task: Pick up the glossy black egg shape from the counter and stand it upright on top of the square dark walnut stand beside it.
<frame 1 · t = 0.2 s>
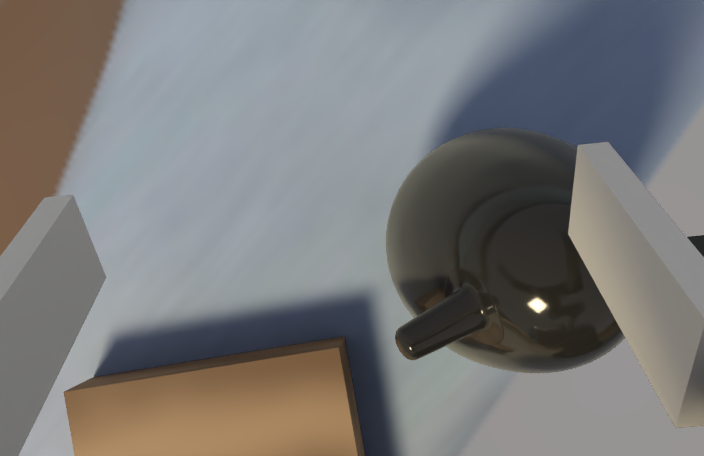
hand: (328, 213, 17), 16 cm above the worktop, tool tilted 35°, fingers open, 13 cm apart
glossy black egg shape: (481, 234, 33), on the worktop, touching gripper
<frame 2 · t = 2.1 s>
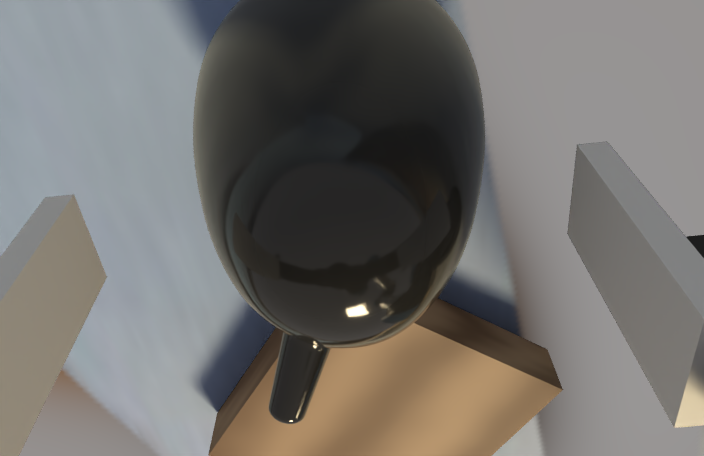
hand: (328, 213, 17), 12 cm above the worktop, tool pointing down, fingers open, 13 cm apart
glossy black egg shape: (337, 73, 27), on the worktop
walnut stand: (376, 382, 37), on the worktop
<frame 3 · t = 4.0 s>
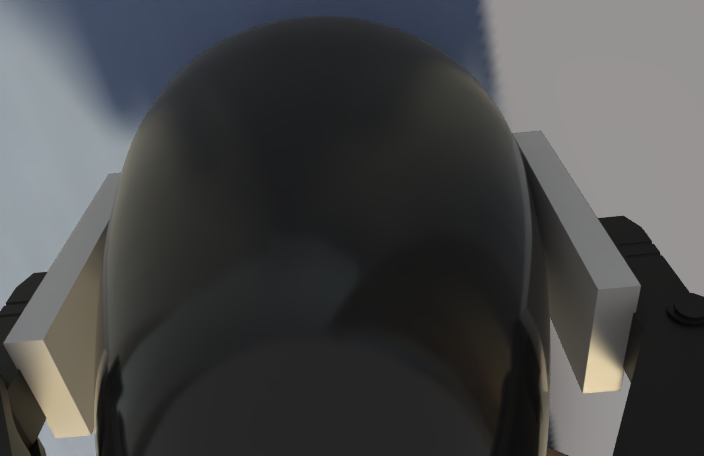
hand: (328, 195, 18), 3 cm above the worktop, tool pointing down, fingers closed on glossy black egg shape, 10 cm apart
glossy black egg shape: (326, 148, 20), on the worktop, touching gripper
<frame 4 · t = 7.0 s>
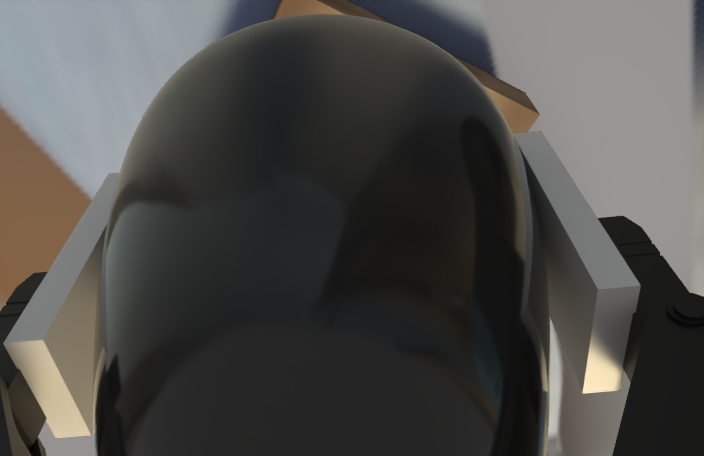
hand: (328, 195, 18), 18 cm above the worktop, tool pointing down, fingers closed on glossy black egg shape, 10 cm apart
glossy black egg shape: (326, 147, 20), point 15 cm above the worktop, touching gripper
walnut stand: (354, 144, 36), on the worktop
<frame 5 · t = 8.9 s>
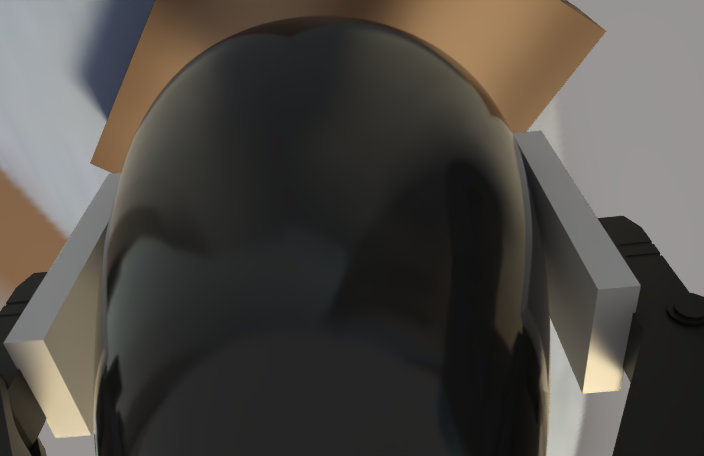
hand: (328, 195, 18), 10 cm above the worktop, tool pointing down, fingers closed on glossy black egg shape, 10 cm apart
glossy black egg shape: (326, 148, 20), point 7 cm above the worktop, touching gripper
walnut stand: (334, 72, 26), on the worktop
when the fingers open (7 cm above the worktop, at t = 10.4 s): glossy black egg shape drops 1 cm, resting on walnut stand.
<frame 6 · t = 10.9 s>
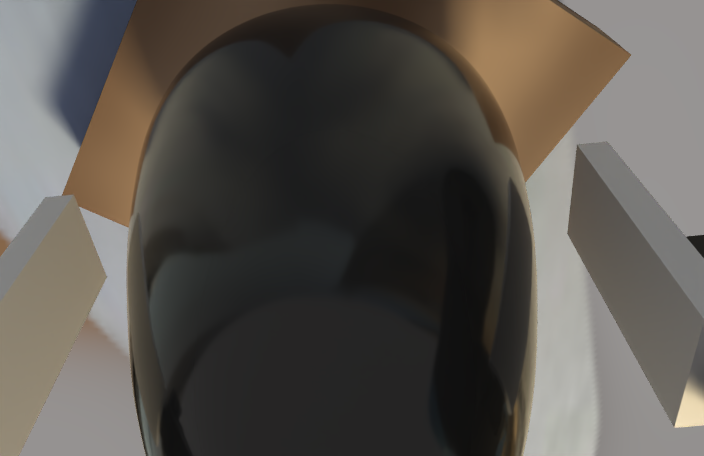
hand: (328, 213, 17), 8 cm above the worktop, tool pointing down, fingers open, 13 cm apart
glossy black egg shape: (328, 129, 21), point 3 cm above the worktop, touching walnut stand
walnut stand: (330, 97, 24), on the worktop
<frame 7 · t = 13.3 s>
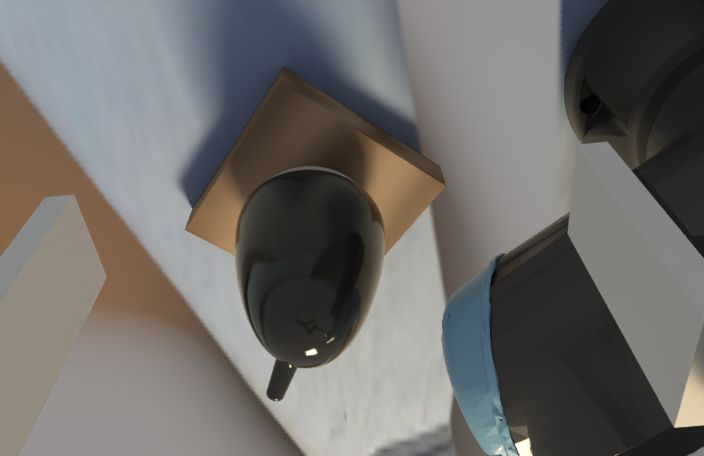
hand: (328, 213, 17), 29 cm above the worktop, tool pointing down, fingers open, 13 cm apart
glossy black egg shape: (312, 206, 47), point 3 cm above the worktop, touching walnut stand
walnut stand: (314, 188, 49), on the worktop
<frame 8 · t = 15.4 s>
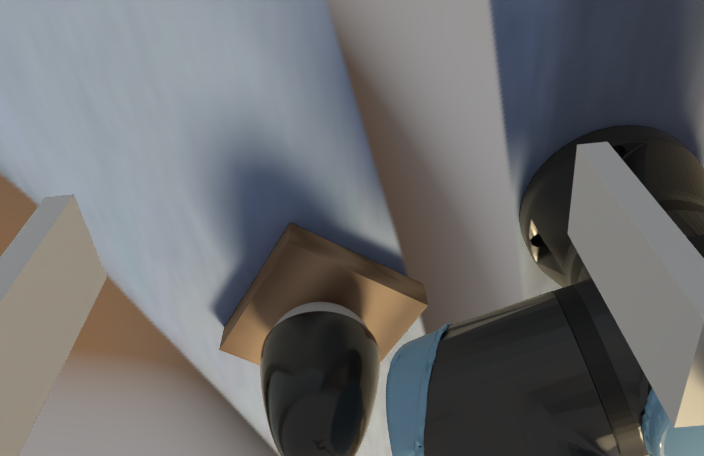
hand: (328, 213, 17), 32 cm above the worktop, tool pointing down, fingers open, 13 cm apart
glossy black egg shape: (320, 326, 58), point 3 cm above the worktop, touching walnut stand
walnut stand: (322, 306, 60), on the worktop
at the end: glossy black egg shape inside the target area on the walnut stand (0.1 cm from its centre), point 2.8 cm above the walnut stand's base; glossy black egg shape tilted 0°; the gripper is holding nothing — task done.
